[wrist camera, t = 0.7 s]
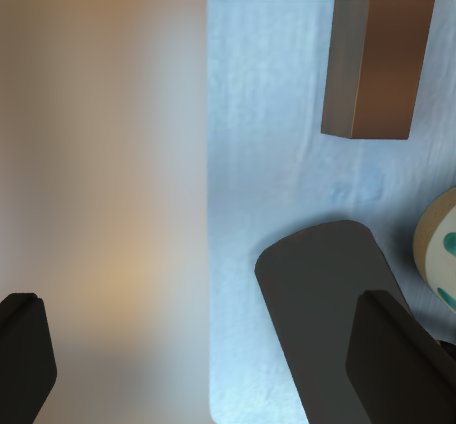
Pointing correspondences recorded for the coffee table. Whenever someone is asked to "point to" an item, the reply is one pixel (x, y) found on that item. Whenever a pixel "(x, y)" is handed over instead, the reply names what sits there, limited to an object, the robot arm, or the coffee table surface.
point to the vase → (438, 247)
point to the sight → (323, 309)
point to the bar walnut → (375, 67)
